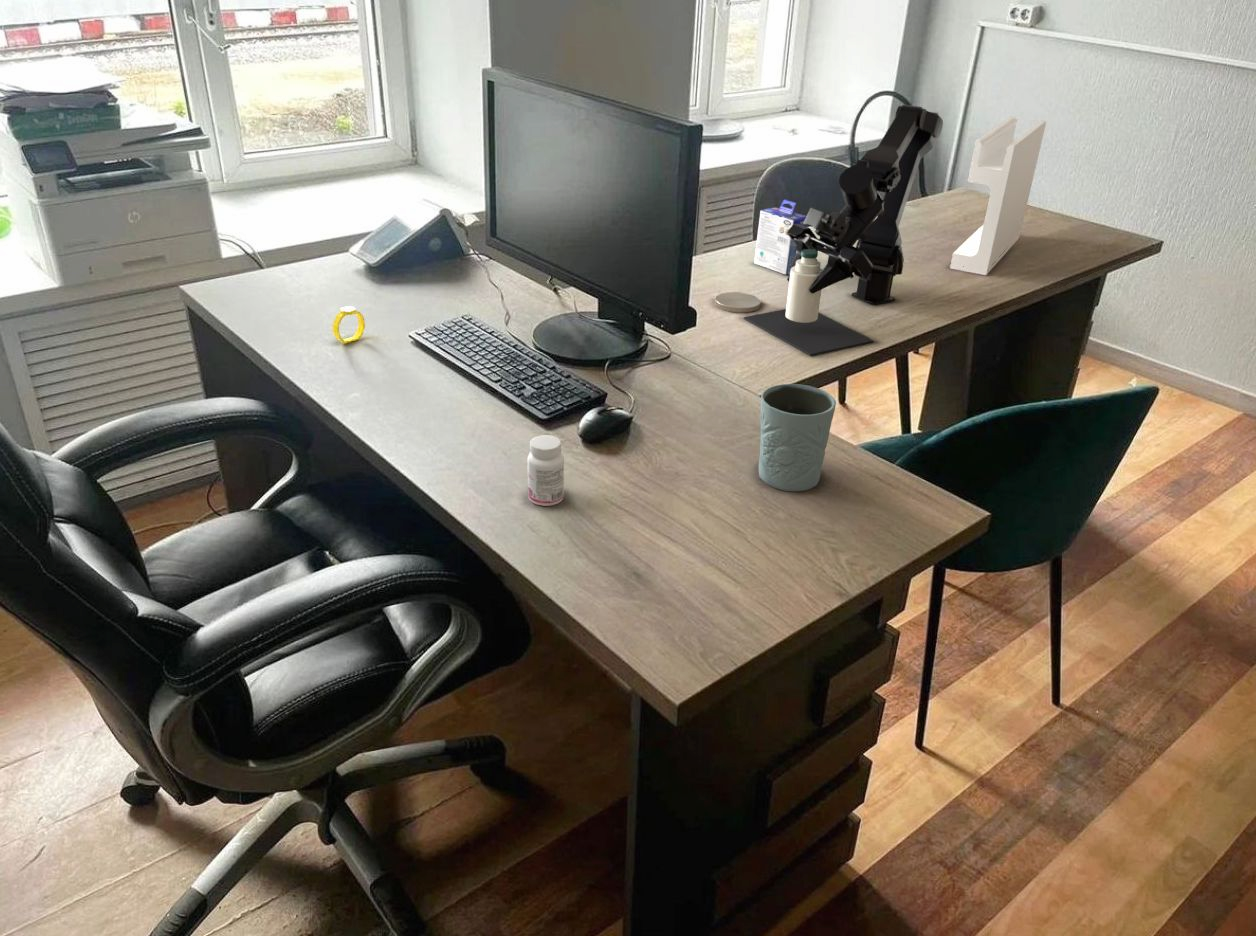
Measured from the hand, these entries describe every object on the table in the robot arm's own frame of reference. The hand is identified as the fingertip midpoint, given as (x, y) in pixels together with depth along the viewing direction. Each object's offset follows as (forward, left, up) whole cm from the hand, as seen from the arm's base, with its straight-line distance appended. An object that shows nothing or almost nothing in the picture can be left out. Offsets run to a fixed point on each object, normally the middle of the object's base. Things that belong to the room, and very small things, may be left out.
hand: (799, 286), depth 184 cm
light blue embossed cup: (+35, +42, -9) cm, 55 cm away
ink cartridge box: (-21, -32, -9) cm, 40 cm away
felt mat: (-3, 0, -9) cm, 10 cm away
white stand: (-75, -21, -9) cm, 78 cm away
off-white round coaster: (+1, -17, -9) cm, 19 cm away
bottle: (-1, 0, -6) cm, 6 cm away
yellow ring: (+75, -31, -9) cm, 81 cm away
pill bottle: (+68, +32, -9) cm, 76 cm away
